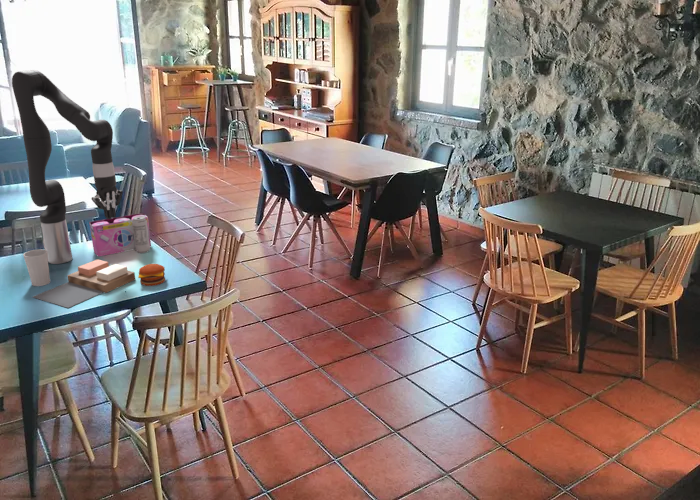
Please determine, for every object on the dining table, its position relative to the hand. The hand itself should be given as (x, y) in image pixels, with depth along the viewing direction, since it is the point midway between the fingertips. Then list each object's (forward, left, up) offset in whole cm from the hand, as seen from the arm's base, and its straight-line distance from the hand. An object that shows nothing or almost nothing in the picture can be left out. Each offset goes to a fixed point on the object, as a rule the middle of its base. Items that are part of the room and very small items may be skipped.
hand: (110, 217), depth 232 cm
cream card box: (+10, -11, -18) cm, 23 cm away
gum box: (-16, +17, -21) cm, 32 cm away
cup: (-14, -24, -21) cm, 35 cm away
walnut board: (+5, -12, -21) cm, 25 cm away
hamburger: (+22, -3, -21) cm, 31 cm away
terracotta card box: (0, -11, -18) cm, 21 cm away
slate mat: (+5, -26, -21) cm, 34 cm away
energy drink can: (-6, +19, -21) cm, 29 cm away
